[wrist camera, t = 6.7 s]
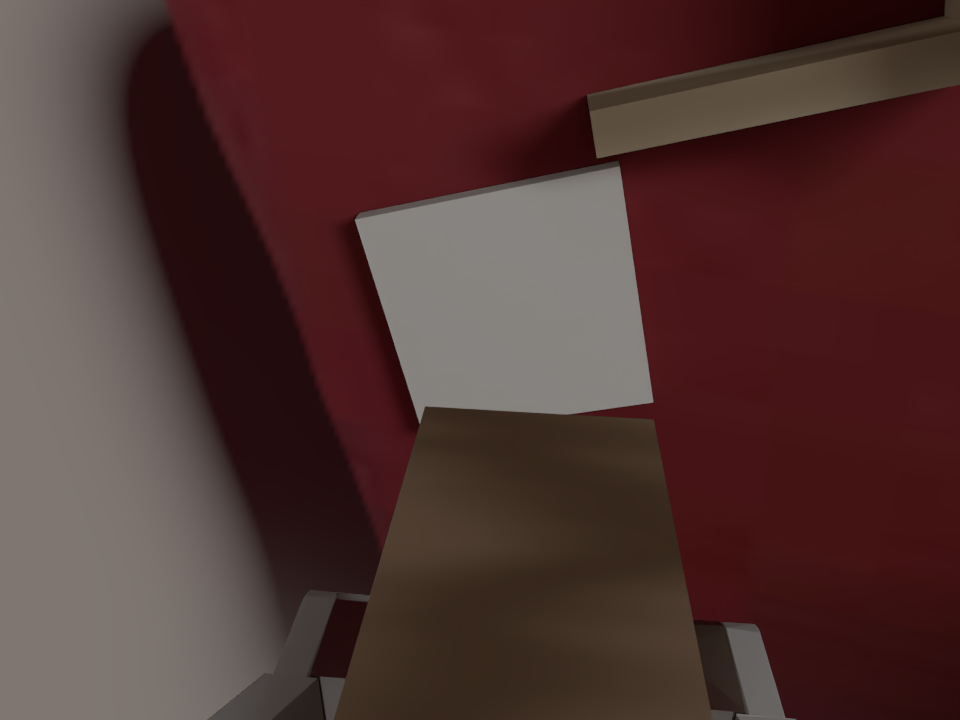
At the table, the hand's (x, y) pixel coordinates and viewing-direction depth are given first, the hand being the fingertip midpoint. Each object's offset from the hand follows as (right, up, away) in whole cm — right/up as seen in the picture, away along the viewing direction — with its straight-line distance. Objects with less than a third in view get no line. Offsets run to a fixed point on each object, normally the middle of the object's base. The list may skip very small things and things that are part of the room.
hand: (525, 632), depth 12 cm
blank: (0, +1, +2) cm, 3 cm away
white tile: (+1, +7, +18) cm, 19 cm away
